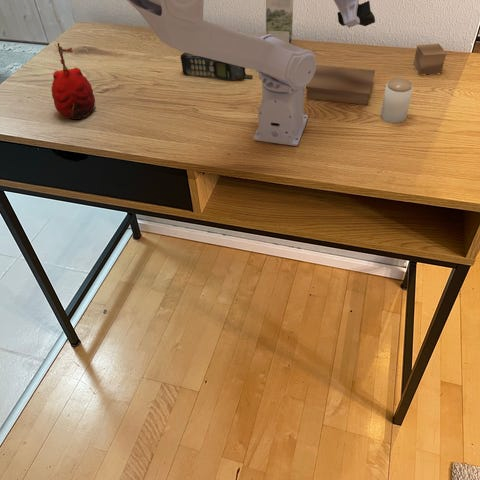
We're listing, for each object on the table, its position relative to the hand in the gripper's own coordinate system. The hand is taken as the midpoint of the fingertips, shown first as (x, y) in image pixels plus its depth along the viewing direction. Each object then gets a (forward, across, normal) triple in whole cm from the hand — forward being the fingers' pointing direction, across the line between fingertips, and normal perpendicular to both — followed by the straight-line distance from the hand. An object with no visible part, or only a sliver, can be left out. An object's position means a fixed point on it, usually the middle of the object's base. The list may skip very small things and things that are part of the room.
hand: (367, 2), depth 90 cm
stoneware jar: (+6, -20, 0) cm, 21 cm away
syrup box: (+10, +4, +25) cm, 27 cm away
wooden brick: (+6, -12, +10) cm, 16 cm away
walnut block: (+21, -7, -3) cm, 22 cm away
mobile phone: (-4, -4, +32) cm, 33 cm away
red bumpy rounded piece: (-26, -12, +50) cm, 58 cm away
